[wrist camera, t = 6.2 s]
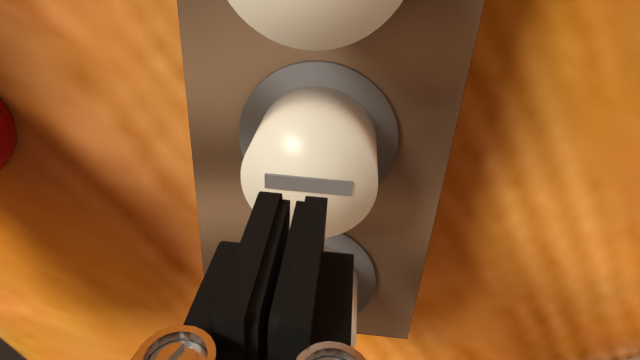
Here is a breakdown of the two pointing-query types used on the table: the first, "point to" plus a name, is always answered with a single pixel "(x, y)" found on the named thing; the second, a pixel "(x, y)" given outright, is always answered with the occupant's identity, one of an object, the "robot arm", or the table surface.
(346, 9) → the knob
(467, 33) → the knob bar
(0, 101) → the plastic cup
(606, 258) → the table surface
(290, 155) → the knob mid
